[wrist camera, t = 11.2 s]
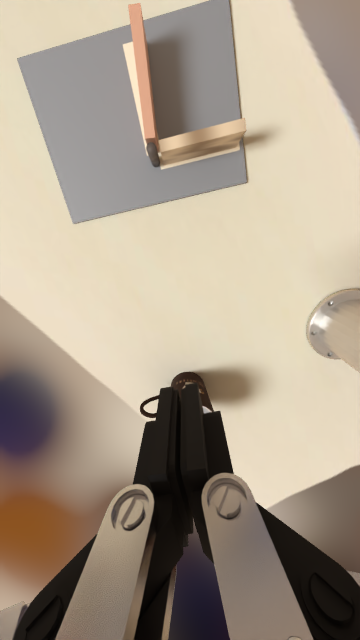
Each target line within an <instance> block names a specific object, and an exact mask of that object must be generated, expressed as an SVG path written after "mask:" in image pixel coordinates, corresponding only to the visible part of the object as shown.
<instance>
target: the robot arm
mask: <svg viewBox="0 0 360 640" xmlns="http://www.w3.org/2000/svg"><path fill="white" fill-rule="evenodd" d="M306 334H307V339H308V341H309V343H310V345H311V347H312V348H313V349H314V350H315V351H316V352H317V353H319V354H320V355H322V356H324V357H326V358H330V359H342V360H343V361H345V362H346V363H347V364H349V365H350V366H351V367H353V368H354V369H355V370H357V371H358V372H359V373H360V290H357V289H348V290H343V291H339V292H336V293H334V294H332V295H330V296H328V297H327V298H325V299H324V300H323V301H322V302H320V303H319V304H318V306H317V307H316V308H315V309H314V311H313V312H312V314H311V315H310V318H309V320H308V324H307V333H306ZM193 518H194V522H195V526H196V529H197V532H198V534H199V538H200V541H201V545H202V549H203V552H204V553H205V555H206V556H207V557H208V558H209V559H210V560H211V561H212V562H213V563H214V565H215V569H216V574H217V579H218V584H219V588H220V593H221V598H222V602H223V607H224V612H225V617H226V622H227V627H228V631H229V636H230V640H360V573H355V572H350V571H346V570H345V569H344V568H343V567H342V566H341V565H339V564H338V563H337V562H335V561H334V560H333V559H331V558H330V557H329V556H327V555H326V554H325V553H323V552H322V551H321V550H319V549H318V548H317V547H315V546H314V545H313V544H311V543H310V542H309V541H307V540H306V539H305V538H303V537H302V536H301V535H299V534H298V533H296V532H295V531H294V530H292V529H291V528H290V527H288V526H287V525H286V524H284V523H283V522H282V521H280V520H279V519H278V518H276V517H275V516H274V515H272V514H271V513H270V512H268V511H267V510H266V509H264V508H263V507H262V506H260V505H259V504H258V503H256V502H255V500H254V497H253V495H252V493H251V490H250V489H249V487H248V485H247V484H246V482H244V481H243V480H242V479H241V478H240V477H238V476H236V475H234V473H233V468H232V464H231V459H230V455H229V450H228V445H227V441H226V436H225V431H224V427H223V422H222V417H221V413H220V411H216V412H209V413H204V411H203V406H202V401H201V396H200V391H199V387H198V383H191V384H186V385H185V388H182V389H181V399H180V394H179V390H178V389H175V390H174V388H173V387H166V388H161V389H160V395H159V402H158V408H157V415H156V421H149V422H146V424H145V428H144V433H143V438H142V443H141V447H140V452H139V457H138V462H137V467H136V472H135V476H134V482H133V485H130V486H128V487H126V488H124V489H123V490H121V491H120V492H119V493H118V494H117V495H116V496H115V497H114V499H113V500H112V502H111V503H110V505H109V507H108V510H107V512H106V514H105V517H104V519H103V522H102V524H101V527H100V529H99V532H98V534H97V535H96V536H95V537H94V538H93V539H92V540H91V541H90V542H89V543H88V544H87V545H86V546H85V547H84V548H83V549H82V550H81V551H80V552H79V553H78V554H77V555H76V556H75V557H74V558H73V559H72V560H71V561H70V562H69V563H68V564H67V565H66V566H65V567H64V568H63V569H62V570H61V571H60V572H59V573H58V574H57V575H56V576H55V577H54V578H53V579H52V580H51V582H49V583H48V585H46V586H45V588H43V590H42V591H41V592H40V593H39V594H38V595H37V596H36V597H35V599H34V600H33V601H32V602H31V603H28V604H25V602H20V603H18V604H15V605H13V606H11V607H8V608H6V609H3V610H1V611H0V640H168V634H169V626H170V618H171V609H172V601H173V594H174V587H175V578H176V564H177V562H178V561H179V560H180V558H181V557H182V555H183V547H186V546H188V534H192V533H193Z"/></svg>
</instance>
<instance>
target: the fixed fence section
mask: <svg viewBox="0 0 360 640" xmlns="http://www.w3.org/2000/svg"><path fill="white" fill-rule="evenodd" d="M245 132H246V124H245V118H242V119H238V120H234V121H231V122H227V123H223V124H219V125H215V126H211V127H207V128H203V129H200V130H196V131H192V132H188V133H184V134H180V135H176V136H173V137H169V138H165V139H161V140H158V141H159V146H160V151H161V155H162V159H163V164H164V165H168V164H172V163H176V162H180V161H184V160H188V159H192V158H196V157H200V156H204V155H208V154H212V153H216V152H220V151H224V150H228V149H232V148H236V147H237V145H238V143H239V142H240V140H241V138H242V137H243V135H244V133H245ZM146 150H147V153H148V155H149V158H150V161H151V163H152V165H153V166H154V167H158V166H159V165H160V159H159V155H158V152H157V148H156V145H155V144H154V143H153V142H150V143H148V144H147V146H146Z"/></svg>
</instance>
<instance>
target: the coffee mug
mask: <svg viewBox="0 0 360 640" xmlns="http://www.w3.org/2000/svg"><path fill="white" fill-rule="evenodd" d="M191 383H198V387H199V391H200V396H201V401H202V406H203V411H204V413H209V412H214V410H213V408H212V405H211V402H210V399H209V396H208V394H207V391H206V388H205V385H204V382H203V380H202V379H201V377H200V376H199V375H197V374H195V373H192V372H183V373H180V374H178V375H177V376H176V377H175V378H174V379H173V381H172V383H171V387H173V388H174V390H175V389H178V390H179V394H180V399H181V389H182V388H185V385H186V384H191ZM157 399H159V395H158V396H155V397H152V398H149V399H147V400H146V401H144V402H143V403H142V404H141V406H140V412H141V414H143V415H144V416H146V417H149V418H155V417H156V415H157V413H154V414H151V413H148V412H146V411H145V410H144V409H143V407H144V406H145V405H146V404H147V403H149V402H151V401H154V400H157Z"/></svg>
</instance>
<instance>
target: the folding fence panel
mask: <svg viewBox="0 0 360 640" xmlns="http://www.w3.org/2000/svg"><path fill="white" fill-rule="evenodd" d="M128 7H129V15H130V23H131V31H132V39H133V47H134V55H135V63H136V71H137V79H138V87H139V95H140V103H141V111H142V119H143V127H144V135H145V140H146V143H147V144H148V143H150V142H153V143H154V144H155V145H156V148H157V152H158V153H159V148H158V138H157V129H156V120H155V111H154V102H153V93H152V84H151V75H150V65H149V56H148V47H147V40H146V34H145V28H144V22H143V17H142V11H141V5H140V3H137V4H131V5H128Z"/></svg>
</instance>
